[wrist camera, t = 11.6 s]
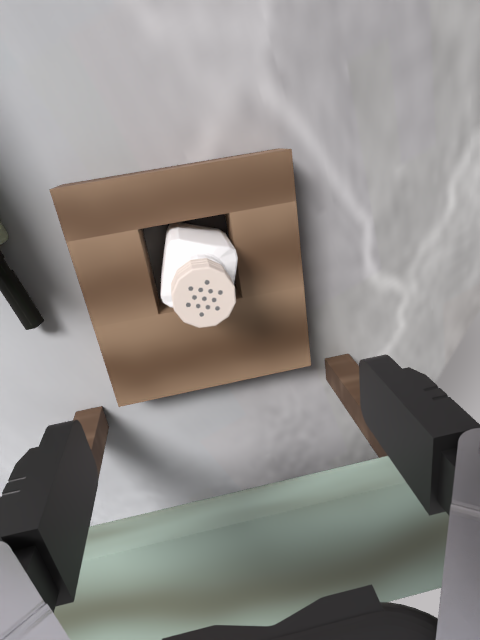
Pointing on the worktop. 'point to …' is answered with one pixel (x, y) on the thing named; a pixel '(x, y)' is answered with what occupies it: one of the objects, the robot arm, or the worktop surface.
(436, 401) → the robot arm
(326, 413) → the worktop surface
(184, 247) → the pepper shaker
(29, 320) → the handheld radio
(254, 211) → the stand
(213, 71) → the worktop surface
